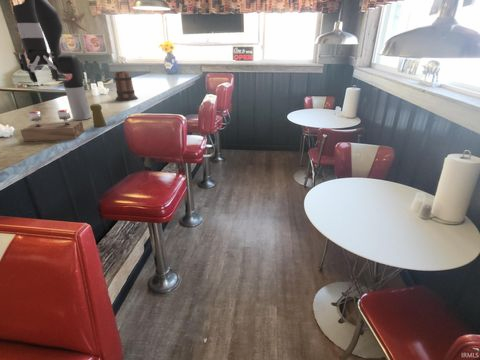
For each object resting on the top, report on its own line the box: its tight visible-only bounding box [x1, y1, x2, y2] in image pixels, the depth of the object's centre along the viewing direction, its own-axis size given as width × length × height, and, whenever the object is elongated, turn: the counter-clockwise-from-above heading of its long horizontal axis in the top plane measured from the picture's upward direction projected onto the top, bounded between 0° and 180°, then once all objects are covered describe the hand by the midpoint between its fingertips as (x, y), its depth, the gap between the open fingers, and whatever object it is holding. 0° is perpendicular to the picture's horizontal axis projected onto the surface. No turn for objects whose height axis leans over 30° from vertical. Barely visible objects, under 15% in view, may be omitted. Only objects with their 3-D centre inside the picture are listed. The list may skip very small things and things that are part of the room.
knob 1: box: [27, 110, 43, 127], centre depth 126 cm, size 4×4×7 cm
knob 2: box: [57, 109, 71, 126], centre depth 127 cm, size 4×4×7 cm
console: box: [20, 120, 85, 143], centre depth 129 cm, size 12×21×5 cm, turn 99°
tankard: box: [114, 71, 139, 102], centre depth 217 cm, size 24×17×20 cm
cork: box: [89, 103, 107, 128], centre depth 144 cm, size 6×6×11 cm
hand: (45, 80), depth 117 cm, fingers open, 8 cm apart
